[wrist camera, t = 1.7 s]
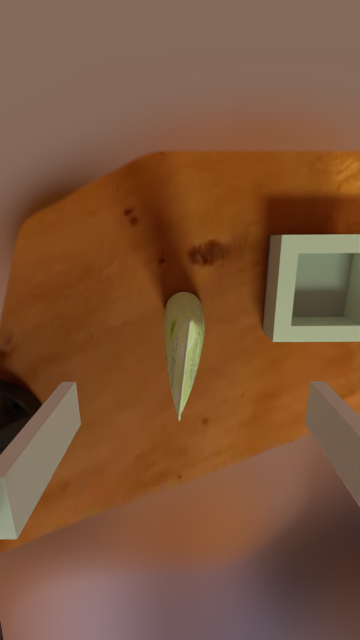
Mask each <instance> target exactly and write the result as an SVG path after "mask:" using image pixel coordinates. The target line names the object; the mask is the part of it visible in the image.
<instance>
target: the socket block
mask: <svg viewBox="0 0 360 640" xmlns="http://www.w3.org/2000/svg"><path fill="white" fill-rule="evenodd" d="M263 331H264V333H265V334H266V335H267V336H268V337H269V338H270V339H271V340H272V342H342V341H360V234H331V235H270V240H269V253H268V266H267V279H266V292H265V306H264V319H263Z"/></svg>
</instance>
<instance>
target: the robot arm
mask: <svg viewBox="0 0 360 640" xmlns="http://www.w3.org/2000/svg"><path fill="white" fill-rule="evenodd" d="M80 425H81V421H80V413H79V405H78V397H77V388H76V382H62V383H61V384H60V385H59V386H58V387H57V389H56V390H55V391H54V392H53V393H52V394H51V396H50V397H49V398H48V399H47V400H46V402H45V403H44V404H43V405H42V406H41V404H40V403H39V402H38V401H37V400H36V399H35V398H34V397H33V396H32V395H31V394H30V393H28V392H27V391H26V390H24V389H22V388H20V387H19V386H16V385H14V384H11V383H8V382H4V381H0V539H18V537H19V535H20V533H21V531H22V530H23V528H24V526H25V524H26V522H27V521H28V519H29V517H30V515H31V513H32V512H33V510H34V508H35V506H36V504H37V502H38V501H39V499H40V497H41V495H42V493H43V492H44V490H45V488H46V486H47V484H48V483H49V481H50V479H51V477H52V475H53V474H54V472H55V470H56V468H57V466H58V464H59V463H60V461H61V459H62V457H63V455H64V454H65V452H66V450H67V448H68V446H69V445H70V443H71V441H72V439H73V437H74V436H75V434H76V432H77V430H78V428H79V426H80ZM305 425H306V426H307V428H308V429H309V431H310V432H311V434H312V435H313V437H314V438H315V440H316V441H317V443H318V444H319V446H320V447H321V449H322V450H323V452H324V453H325V455H326V457H327V458H328V460H329V461H330V463H331V464H332V466H333V467H334V469H335V470H336V472H337V473H338V475H339V476H340V478H341V479H342V481H343V483H344V484H345V486H346V487H347V489H348V490H349V492H350V493H351V495H352V496H353V498H354V499H355V501H356V502H357V504H358V505H359V506H360V417H359V416H358V415H357V414H356V413H355V412H354V411H353V410H352V409H351V408H350V407H349V406H348V405H347V404H346V402H345V401H344V400H343V399H342V398H341V397H340V396H339V395H338V394H337V393H336V392H335V391H334V390H333V389H332V388H331V387H330V386H329V385H328V384H327V383H326V382H311V384H310V392H309V399H308V407H307V414H306V422H305ZM0 640H3V635H2V629H1V623H0Z"/></svg>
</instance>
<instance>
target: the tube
mask: <svg viewBox="0 0 360 640" xmlns="http://www.w3.org/2000/svg"><path fill="white" fill-rule="evenodd" d="M203 339H204V314H203V308H202V305H201V302H200V300H199V299H198V298H197V297H196V296H195V295H193V294H192V293H188V292H179V293H176V294H175V295H173V296H172V297H171V298H170V299H169V300H168V302H167V304H166V309H165V316H164V344H165V354H166V362H167V369H168V376H169V382H170V388H171V393H172V397H173V401H174V405H175V408H176V411H177V415H178V420H179V421H180V418H181V413H182V411H183V408H184V406H185V404H186V402H187V399H188V397H189V394H190V391H191V388H192V385H193V382H194V379H195V375H196V372H197V368H198V364H199V360H200V355H201V351H202V346H203Z"/></svg>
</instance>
